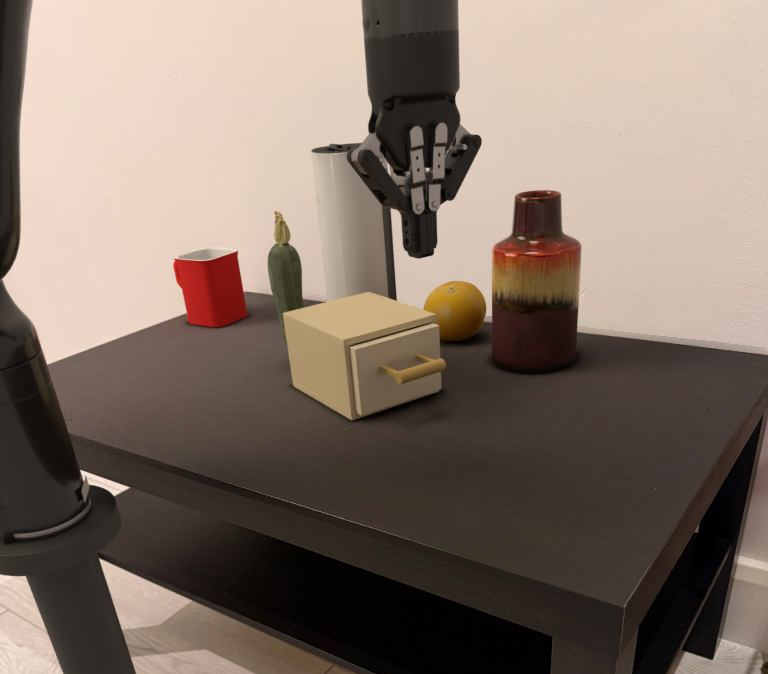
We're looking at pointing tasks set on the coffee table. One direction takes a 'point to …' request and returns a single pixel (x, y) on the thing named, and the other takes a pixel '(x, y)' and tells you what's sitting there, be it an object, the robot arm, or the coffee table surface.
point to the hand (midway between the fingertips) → (421, 255)
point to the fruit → (457, 309)
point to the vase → (535, 288)
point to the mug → (211, 286)
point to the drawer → (396, 368)
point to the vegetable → (284, 272)
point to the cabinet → (342, 343)
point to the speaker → (351, 228)
